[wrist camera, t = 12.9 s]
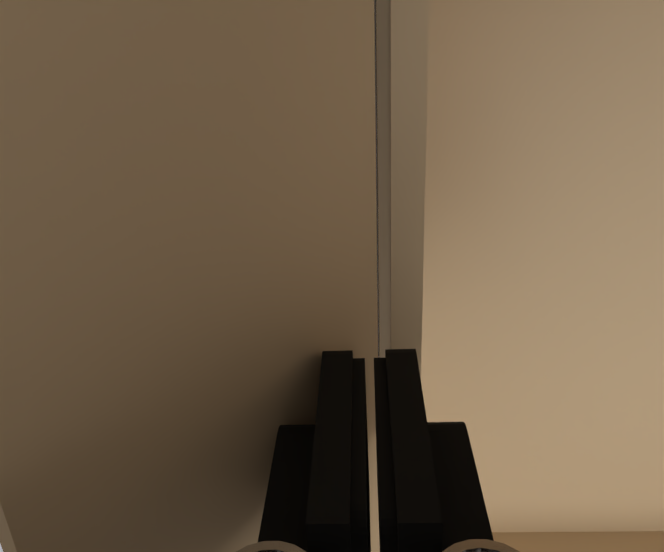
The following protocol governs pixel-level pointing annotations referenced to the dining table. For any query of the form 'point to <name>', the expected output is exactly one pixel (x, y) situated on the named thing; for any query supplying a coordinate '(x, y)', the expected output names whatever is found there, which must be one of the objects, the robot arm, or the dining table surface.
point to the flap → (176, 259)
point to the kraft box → (532, 252)
